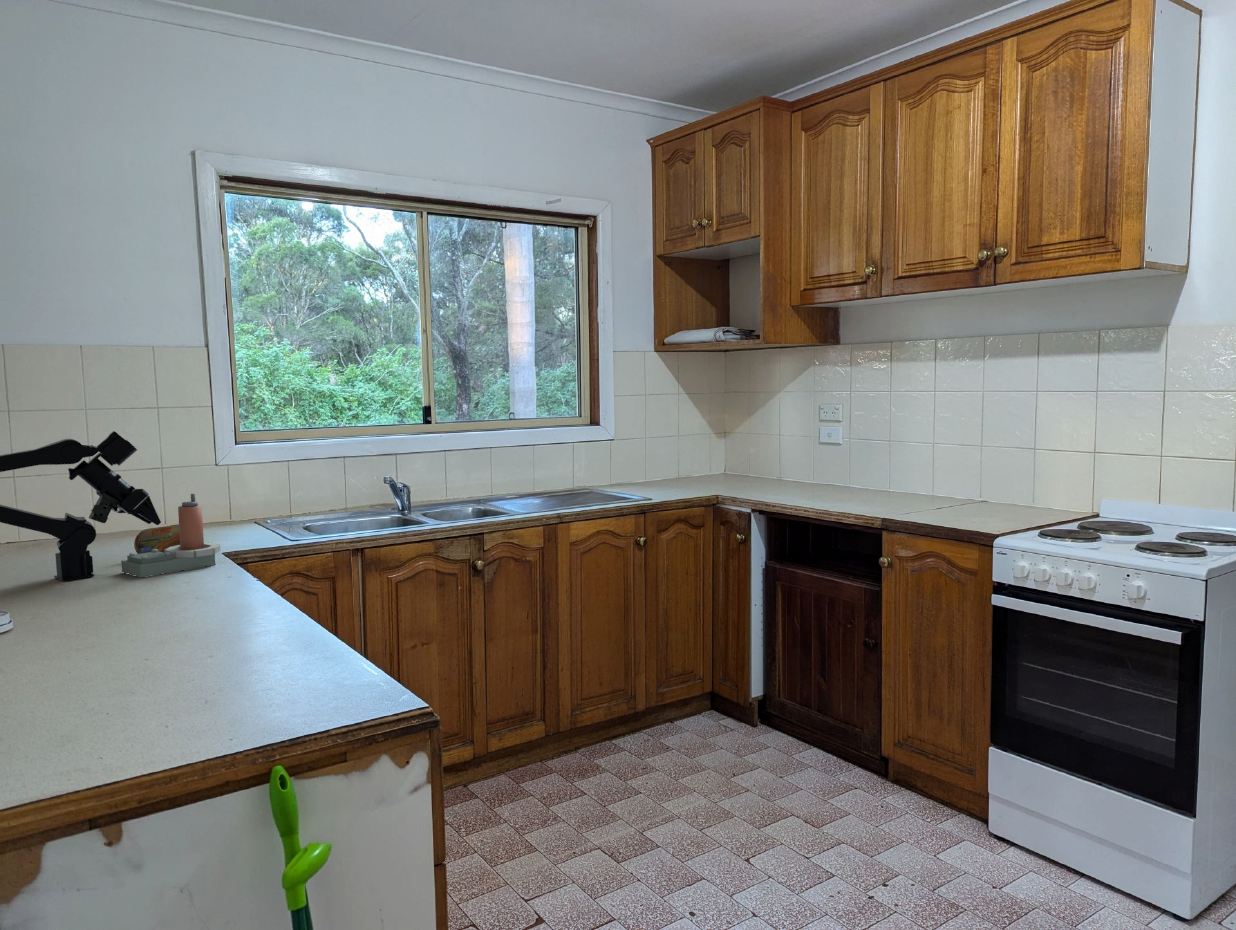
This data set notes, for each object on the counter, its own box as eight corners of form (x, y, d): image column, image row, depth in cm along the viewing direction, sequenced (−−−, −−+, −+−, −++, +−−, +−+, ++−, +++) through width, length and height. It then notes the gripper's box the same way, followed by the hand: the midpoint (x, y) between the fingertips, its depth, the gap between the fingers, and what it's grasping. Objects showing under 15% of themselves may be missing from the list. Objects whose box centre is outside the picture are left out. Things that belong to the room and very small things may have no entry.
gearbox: (142, 578, 201) (141, 558, 201) (120, 572, 209) (119, 553, 208) (228, 563, 218) (227, 544, 217) (205, 558, 225) (204, 540, 225)
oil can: (193, 555, 213) (190, 496, 212) (175, 554, 214) (172, 495, 213) (209, 551, 218) (206, 493, 217) (191, 550, 220) (188, 492, 218)
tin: (139, 562, 221) (136, 530, 220) (133, 560, 223) (131, 529, 222) (196, 552, 233) (195, 522, 232) (191, 551, 235) (189, 521, 234)
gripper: (69, 503, 209) (121, 545, 216) (82, 504, 194) (137, 549, 201) (106, 471, 214) (156, 513, 221) (121, 469, 200) (173, 514, 206)
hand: (155, 523), depth 212 cm, fingers open, 9 cm apart
